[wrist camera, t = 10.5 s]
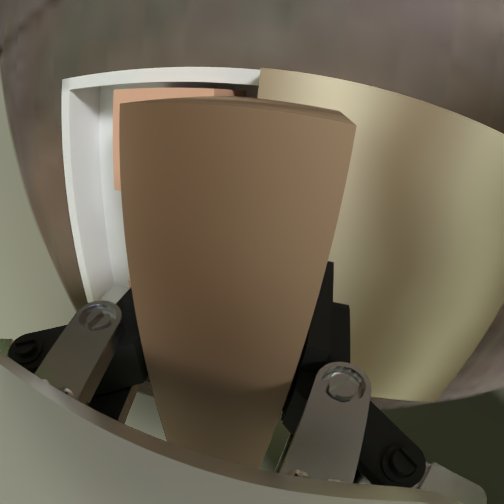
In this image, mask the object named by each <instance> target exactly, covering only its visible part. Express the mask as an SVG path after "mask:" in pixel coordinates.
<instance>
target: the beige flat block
mask: <svg viewBox="0 0 504 504" xmlns="http://www.w3.org/2000/svg"><path fill="white" fill-rule="evenodd" d="M257 98H259V99H268V100H276V101H284V102H291V103H298V104H304V105H310V106H316V107H322V108H327V109H333V110H338V111H340V112H341V113H342V114H344V115H345V116H346V117H347V118H349V119H350V120H351V121H352V122H353V123H354V124H356V125H357V126H356V132H355V138H354V143H353V149H352V154H351V159H350V165H349V170H348V175H347V180H346V184H345V189H344V194H343V199H342V203H341V208H340V212H339V217H338V221H337V225H336V229H335V234H334V238H333V242H332V246H331V250H330V254H329V258H328V261H331V262H334V284H333V302H336V303H341V304H346V305H349V307H350V364H353V365H355V366H357V367H358V368H360V369H361V370H363V371H364V372H365V374H366V375H367V376H368V378H369V380H370V382H371V397H378V398H387V399H397V400H408V401H422V402H435V401H436V400H437V399H438V397H439V396H440V395H441V394H442V393H443V391H444V390H445V389H446V388H447V386H448V385H449V384H450V383H451V381H452V380H453V379H454V377H455V376H456V375H457V374H458V372H459V371H460V370H461V368H462V367H463V366H464V364H465V363H466V361H467V360H468V359H469V357H470V356H471V354H472V353H473V351H474V350H475V349H476V347H477V346H478V344H479V343H480V341H481V340H482V338H483V336H484V335H485V333H486V332H487V330H488V329H489V327H490V325H491V324H492V322H493V320H494V319H495V317H496V315H497V314H498V312H499V310H500V308H501V307H502V305H503V303H504V134H503V133H501V132H499V131H497V130H495V129H492V128H490V127H488V126H486V125H484V124H481V123H479V122H477V121H475V120H472V119H470V118H467V117H465V116H462V115H460V114H457V113H455V112H452V111H450V110H447V109H444V108H442V107H439V106H436V105H433V104H430V103H427V102H424V101H421V100H418V99H415V98H412V97H409V96H405V95H402V94H399V93H395V92H392V91H388V90H384V89H380V88H376V87H372V86H368V85H364V84H360V83H355V82H351V81H346V80H341V79H336V78H331V77H325V76H320V75H314V74H307V73H300V72H293V71H285V70H277V69H267V68H261V70H260V79H259V88H258V97H257Z"/></svg>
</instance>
